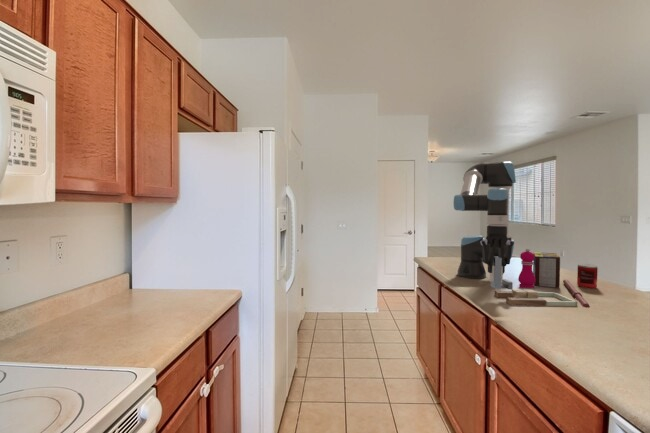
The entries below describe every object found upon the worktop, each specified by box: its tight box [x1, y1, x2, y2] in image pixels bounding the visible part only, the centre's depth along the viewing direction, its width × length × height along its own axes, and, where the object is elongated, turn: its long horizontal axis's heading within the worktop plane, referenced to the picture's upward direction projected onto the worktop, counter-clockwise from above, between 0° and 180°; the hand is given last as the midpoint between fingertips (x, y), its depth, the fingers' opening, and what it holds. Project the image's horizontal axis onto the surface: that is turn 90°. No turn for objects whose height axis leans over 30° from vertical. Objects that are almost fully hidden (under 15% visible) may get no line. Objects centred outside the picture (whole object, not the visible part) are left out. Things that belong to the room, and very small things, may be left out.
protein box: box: [532, 251, 561, 289], centre depth 164 cm, size 10×15×16 cm
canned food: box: [576, 263, 599, 290], centre depth 158 cm, size 8×8×11 cm
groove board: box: [494, 290, 547, 307], centre depth 134 cm, size 14×14×3 cm
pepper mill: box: [517, 248, 536, 289], centre depth 155 cm, size 7×7×20 cm
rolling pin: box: [562, 279, 591, 308], centre depth 145 cm, size 45×3×3 cm, turn 151°
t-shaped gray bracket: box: [490, 256, 514, 291], centre depth 133 cm, size 6×7×13 cm
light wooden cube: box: [522, 288, 539, 298], centre depth 133 cm, size 4×4×4 cm
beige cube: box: [511, 288, 527, 298], centre depth 134 cm, size 4×4×4 cm
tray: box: [537, 291, 578, 307], centre depth 133 cm, size 14×12×3 cm
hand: (495, 280), depth 134 cm, fingers closed on t-shaped gray bracket, 3 cm apart
